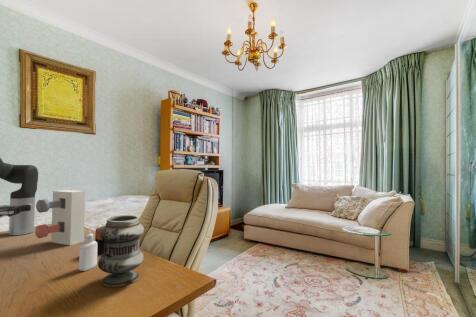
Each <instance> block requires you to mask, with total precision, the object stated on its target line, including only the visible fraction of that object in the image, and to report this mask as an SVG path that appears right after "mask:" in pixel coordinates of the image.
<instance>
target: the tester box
mask: <svg viewBox="0 0 476 317" xmlns="http://www.w3.org/2000/svg"><path fill="white" fill-rule="evenodd" d="M52 201H60V207H57V208H51V209H52V210H51V226H52V225H60V227H59V231H58V232H53V233H50V240H51V241H50V242H51V243H55V244H60V245H66V246H72V245H73V246H74V245H77V244H80V243H81V244H82V243H85V217H86V216H85V214H86V213H85V212H86V191H85V190H76V189H75V190H72V189H61V190H52Z"/></svg>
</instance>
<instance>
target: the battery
mask: <svg viewBox="0 0 476 317" xmlns="http://www.w3.org/2000/svg"><path fill="white" fill-rule="evenodd" d="M104 226H105V225H104ZM104 226H103V225H102V226H99V228H95V235H94V236H95V238H94V241H96V242H97V255H99V256H102V255H103V253H104V240H103V239H102V238H101V237H100V230H101V229H102V228H103V227H104Z"/></svg>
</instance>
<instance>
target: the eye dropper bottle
mask: <svg viewBox="0 0 476 317" xmlns="http://www.w3.org/2000/svg"><path fill="white" fill-rule="evenodd" d="M94 236H95V235H94V233H92V231H91V230H87V234H84V242H82V243H81V245H80V247H79V254H78V255H79V259H78V260H79V261H78V262H79V263H78V264H79V265H78V269H79V271H80V272H81V271H82V272H86V271H90V270H92V269H94V268H95V267H97V266H98V254H97V242H96V241H95V240H94Z"/></svg>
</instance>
